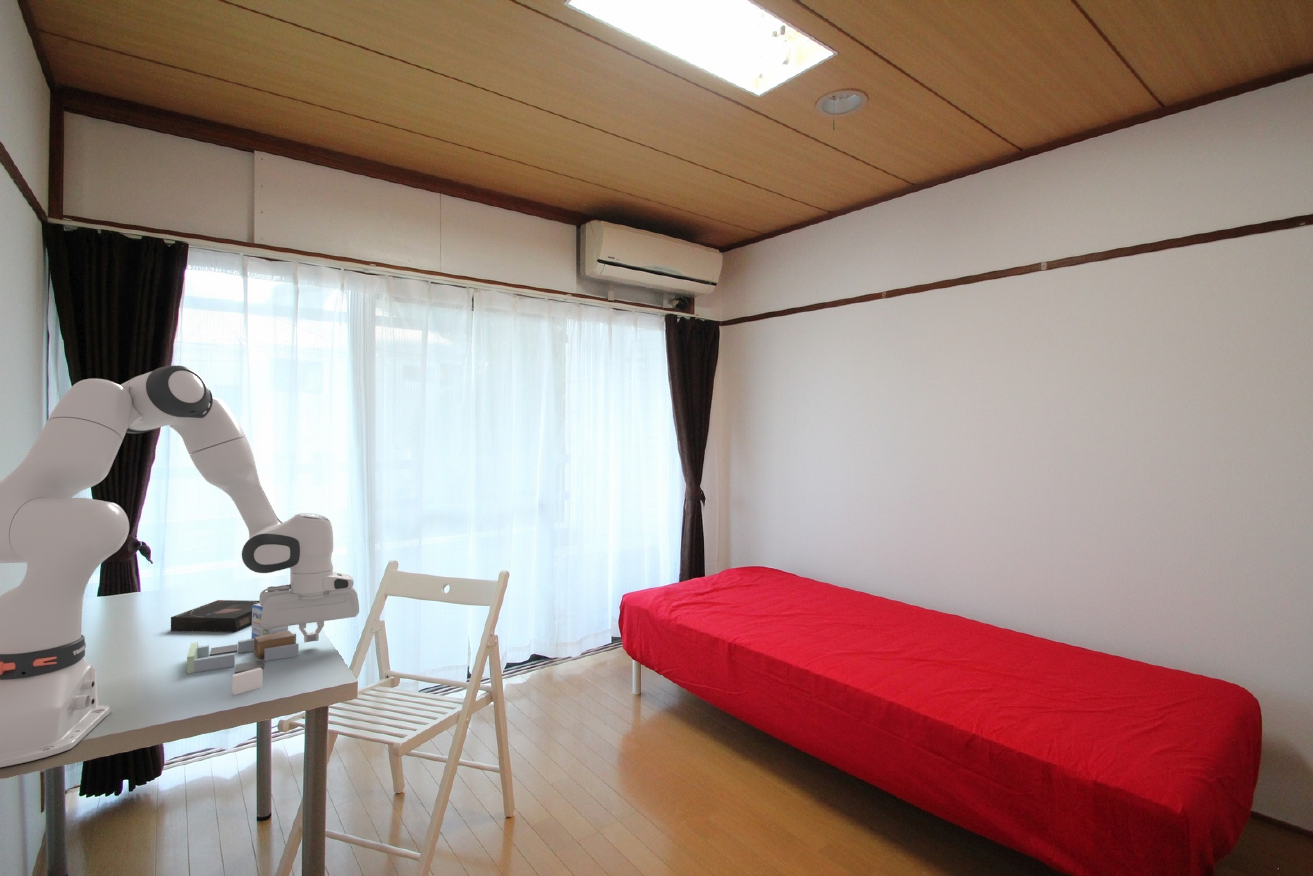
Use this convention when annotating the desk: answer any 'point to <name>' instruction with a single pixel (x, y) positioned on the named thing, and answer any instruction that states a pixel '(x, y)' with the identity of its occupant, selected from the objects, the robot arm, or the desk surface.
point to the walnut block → (272, 642)
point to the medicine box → (256, 623)
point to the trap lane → (233, 656)
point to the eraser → (247, 681)
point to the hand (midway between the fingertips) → (311, 641)
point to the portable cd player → (215, 617)
